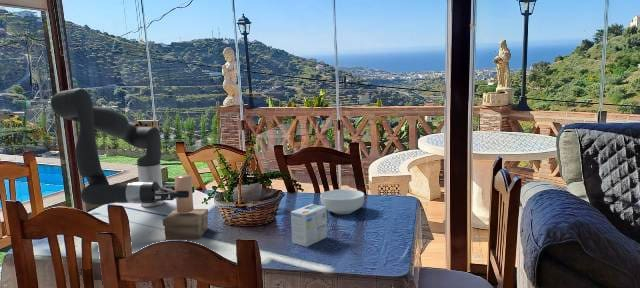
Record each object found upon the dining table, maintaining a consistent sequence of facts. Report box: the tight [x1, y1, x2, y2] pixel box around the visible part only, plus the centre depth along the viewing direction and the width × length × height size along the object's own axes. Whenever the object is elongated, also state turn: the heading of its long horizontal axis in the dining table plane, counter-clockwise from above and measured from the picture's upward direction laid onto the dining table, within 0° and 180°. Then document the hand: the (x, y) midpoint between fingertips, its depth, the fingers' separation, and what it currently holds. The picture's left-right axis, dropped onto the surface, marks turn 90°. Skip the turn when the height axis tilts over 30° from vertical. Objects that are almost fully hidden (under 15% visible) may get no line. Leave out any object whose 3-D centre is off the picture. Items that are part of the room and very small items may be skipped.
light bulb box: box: [290, 203, 328, 248], centre depth 157 cm, size 11×7×11 cm, turn 141°
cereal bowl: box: [319, 188, 365, 215], centre depth 187 cm, size 17×17×7 cm
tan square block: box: [162, 208, 209, 241], centre depth 167 cm, size 12×12×7 cm
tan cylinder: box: [174, 174, 195, 213], centre depth 165 cm, size 6×6×12 cm
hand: (191, 191), depth 165 cm, fingers closed on tan cylinder, 5 cm apart
